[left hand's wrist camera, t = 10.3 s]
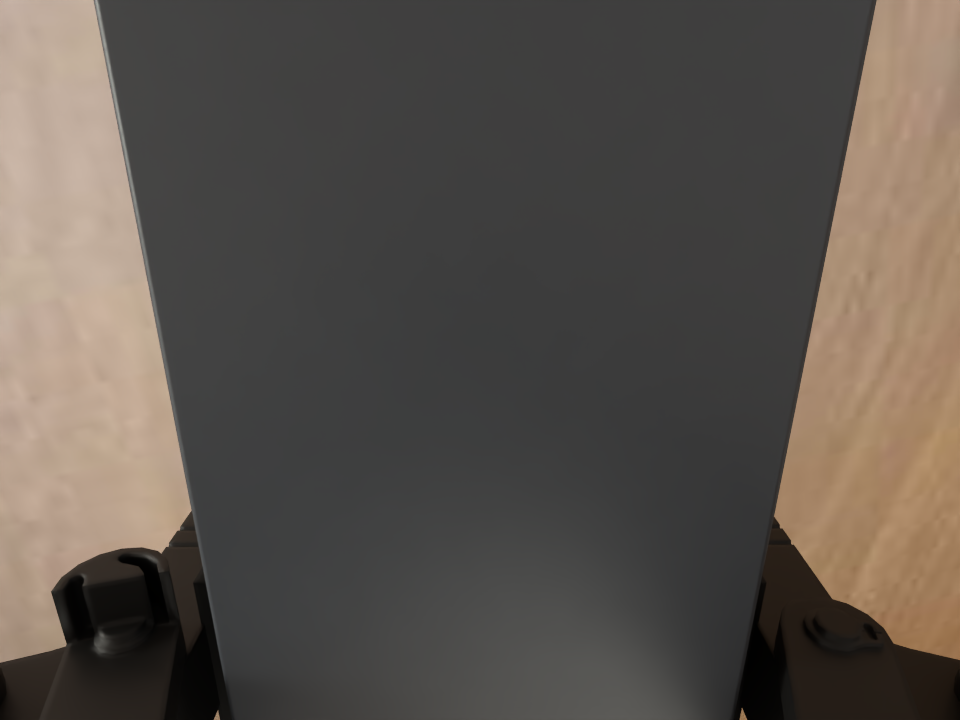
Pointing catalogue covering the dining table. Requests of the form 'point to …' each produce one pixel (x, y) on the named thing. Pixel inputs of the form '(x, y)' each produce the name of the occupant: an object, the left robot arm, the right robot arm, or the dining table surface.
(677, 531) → the bar
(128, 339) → the dining table surface
